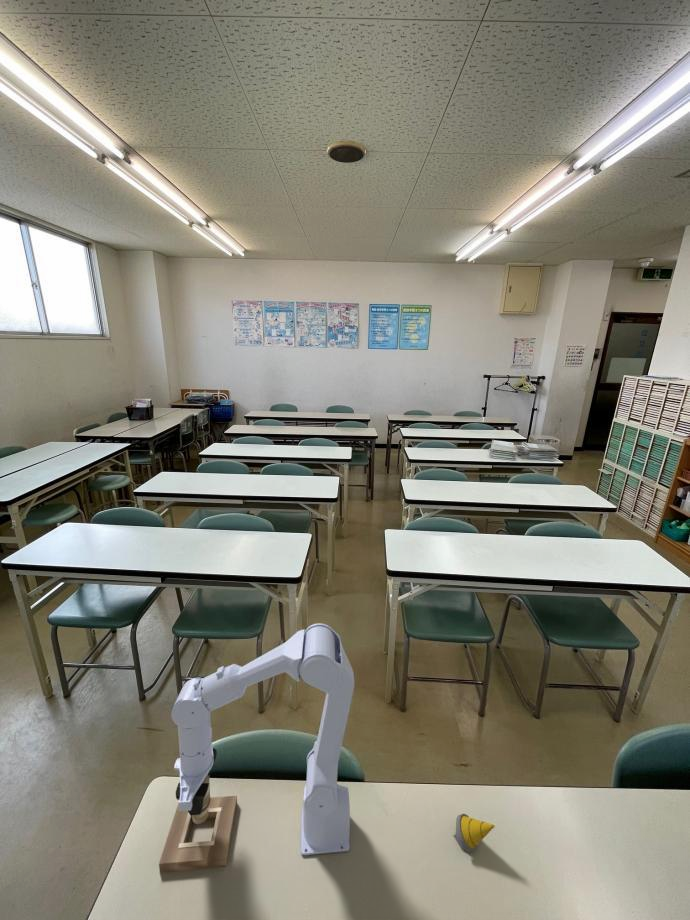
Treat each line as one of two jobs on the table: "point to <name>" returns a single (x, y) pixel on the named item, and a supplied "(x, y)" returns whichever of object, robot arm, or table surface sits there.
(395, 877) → the table surface
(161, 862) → the board
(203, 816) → the peg
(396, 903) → the table surface
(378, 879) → the table surface
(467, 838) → the yellow striped cone
